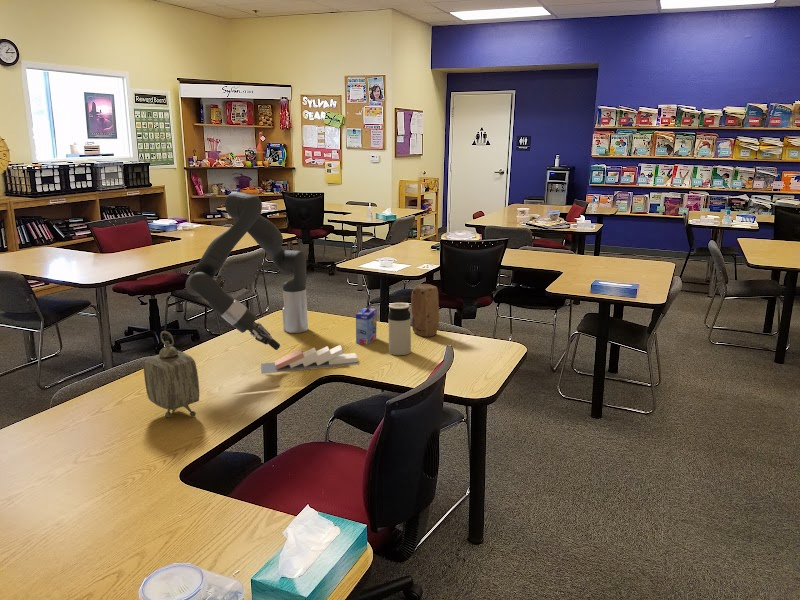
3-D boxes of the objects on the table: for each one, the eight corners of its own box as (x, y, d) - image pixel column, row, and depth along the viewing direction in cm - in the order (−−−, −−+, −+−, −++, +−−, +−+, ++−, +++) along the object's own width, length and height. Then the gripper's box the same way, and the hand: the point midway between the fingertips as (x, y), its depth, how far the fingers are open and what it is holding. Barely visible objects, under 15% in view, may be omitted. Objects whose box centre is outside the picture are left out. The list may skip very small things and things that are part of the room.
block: (440, 335, 247) (440, 286, 242) (426, 339, 243) (425, 289, 238) (423, 329, 256) (422, 281, 251) (408, 332, 251) (408, 284, 246)
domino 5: (328, 360, 215) (357, 357, 217) (327, 355, 220) (355, 353, 222) (329, 364, 215) (357, 361, 218) (327, 359, 220) (355, 357, 222)
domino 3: (302, 363, 213) (329, 350, 214) (301, 358, 218) (327, 346, 219) (304, 367, 214) (331, 354, 215) (303, 362, 218) (329, 349, 219)
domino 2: (289, 364, 212) (316, 351, 213) (288, 359, 217) (314, 347, 218) (291, 368, 213) (317, 355, 214) (290, 363, 217) (316, 351, 218)
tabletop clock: (202, 416, 177) (193, 332, 171) (172, 427, 171) (162, 340, 165) (176, 403, 187) (167, 323, 181) (147, 413, 180) (136, 330, 174)
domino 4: (315, 361, 214) (342, 349, 215) (314, 357, 219) (340, 344, 220) (317, 365, 215) (344, 353, 216) (316, 360, 219) (342, 348, 220)
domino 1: (275, 365, 211) (302, 353, 212) (274, 360, 216) (301, 348, 217) (277, 369, 212) (304, 357, 213) (276, 364, 216) (303, 352, 217)
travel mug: (407, 357, 223) (406, 308, 219) (386, 355, 226) (384, 307, 221) (413, 350, 230) (413, 303, 226) (393, 348, 233) (392, 301, 228)
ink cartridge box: (369, 345, 236) (368, 308, 233) (355, 344, 238) (354, 308, 234) (377, 338, 245) (376, 302, 242) (364, 337, 247) (363, 301, 243)
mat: (261, 375, 208) (261, 373, 208) (261, 365, 218) (260, 363, 218) (359, 365, 215) (359, 364, 215) (354, 356, 225) (354, 355, 225)
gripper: (246, 312, 200) (287, 345, 206) (246, 302, 213) (284, 333, 219) (230, 329, 201) (271, 362, 206) (231, 318, 213) (270, 349, 219)
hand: (278, 347), depth 212 cm, fingers closed
